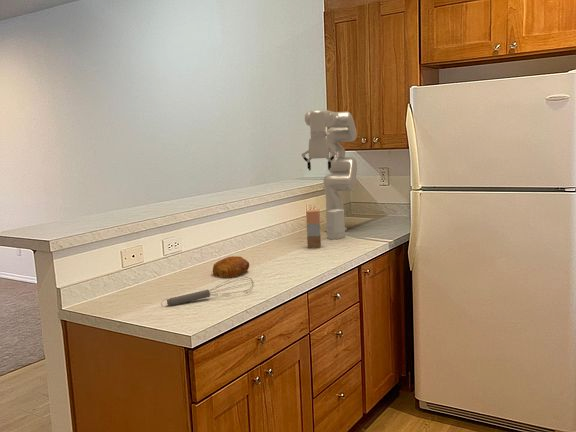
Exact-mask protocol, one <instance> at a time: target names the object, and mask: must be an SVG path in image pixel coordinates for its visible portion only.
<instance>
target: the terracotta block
mask: <svg viewBox="0 0 576 432" xmlns="http://www.w3.org/2000/svg"><path fill="white" fill-rule="evenodd" d="M320 212H321V210H320V209H307V210H306V212H305V213H306V214H305V215H306V216H305V217H306V225H307V224H319V223H320V224H321V217H320V216H321V215H320V214H321V213H320Z"/></svg>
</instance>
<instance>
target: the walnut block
mask: <svg viewBox="0 0 576 432" xmlns="http://www.w3.org/2000/svg"><path fill="white" fill-rule="evenodd" d="M306 236H307V235H306ZM306 240H307V249H321V245H322V243H321V242H322V241H321V235H320V236H307V237H306Z"/></svg>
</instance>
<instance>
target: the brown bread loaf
mask: <svg viewBox="0 0 576 432" xmlns="http://www.w3.org/2000/svg"><path fill="white" fill-rule="evenodd" d="M249 268H250V263H249V261H248V260H247V259H245V258H243V257H242V256H227V257H225V258H223V259H220V260H218V261H217V262H215V263H214V264H213V266H212V274H213V276H215V277H220V278H227V279H229V278H230V279H233V278H236V277H237V276H238V277H239V276H241V275H242V274H244V273H246V272H247V271H248V270H249Z"/></svg>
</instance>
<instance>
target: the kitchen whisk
mask: <svg viewBox="0 0 576 432" xmlns="http://www.w3.org/2000/svg"><path fill="white" fill-rule="evenodd" d="M235 278H236V279H235ZM230 280H231V281H230ZM240 280H242V281H244V280H245V281H251V282H250V283H249V282H247V283H245V284H244V283H243V284H241V285H240V284H238V285H234V286H231V287H226V288H223V289H221V291H222V292H223V291H225V290H226V291H228V290H229V289H230V290H231V289H234V288H235V289H236V288H238V287H239V288H241V287H243V286H244V287H245V286H250V285H251V288H248V289H247V290H242V291H240V293H242V292H243V293H244V294H248V293H250V292H251V291H252V290H253V288H254V287H255V282H254V281H253V280H254V279H252V278H251V277H249V276H247V278H246V276H241V277H239V276H238V277H237V276H235V277H232V278H230V279H228V280H226V281H225V283H222V284H218V285H216V286H215V287H213V288H211V289H205V290H200V291H195V292H191V293H187V294H182V295H178V296H174V297H170V298H166V299H163V300H162V301H161V303H160V305H161V306H162V307H163V306H164V305H163V304H162V303H163V302H164V301H166V303H167V306H168V307H172V305H173V306H177V304H178V305H182V304H184V303H190V302H194V301H198V300H202V299H206V298H210V297H212V296H213V297H217V294H215V293H217V292H220V289H218V288H220V287H223V286H225V285H227V284H230V283H234V282H239V281H240ZM216 289H218V290H216ZM213 290H215V291H213ZM248 290H249V291H248ZM247 291H248V292H247ZM245 292H246V293H245ZM234 293H236V294H237V293H238V291H236V292H233V294H234ZM223 295H226V296H231V293H230V292H227V293H225V292H224V293H223Z"/></svg>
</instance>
